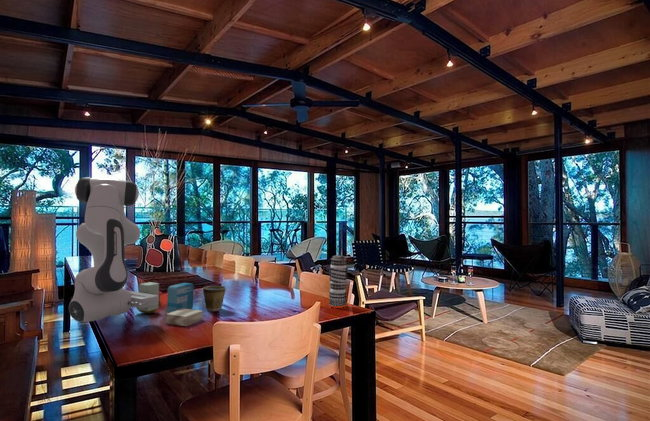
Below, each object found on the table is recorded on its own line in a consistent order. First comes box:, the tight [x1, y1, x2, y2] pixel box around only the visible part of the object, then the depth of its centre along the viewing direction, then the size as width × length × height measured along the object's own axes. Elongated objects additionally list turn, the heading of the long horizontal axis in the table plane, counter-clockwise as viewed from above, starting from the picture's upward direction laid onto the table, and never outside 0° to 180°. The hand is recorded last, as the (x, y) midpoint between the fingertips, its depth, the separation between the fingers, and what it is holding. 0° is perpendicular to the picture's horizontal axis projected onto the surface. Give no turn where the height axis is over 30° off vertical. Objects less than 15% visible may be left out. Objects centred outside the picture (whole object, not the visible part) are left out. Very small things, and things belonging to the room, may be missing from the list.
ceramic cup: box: [202, 285, 226, 312], centre depth 171 cm, size 13×10×10 cm
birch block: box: [165, 308, 204, 327], centre depth 149 cm, size 10×10×4 cm
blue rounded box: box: [166, 282, 195, 314], centre depth 165 cm, size 12×4×12 cm, turn 162°
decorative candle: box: [328, 254, 348, 306], centre depth 182 cm, size 9×9×25 cm
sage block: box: [137, 281, 160, 311], centre depth 145 cm, size 5×5×10 cm
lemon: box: [135, 302, 160, 314], centre depth 160 cm, size 11×8×8 cm
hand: (150, 294), depth 146 cm, fingers closed on sage block, 5 cm apart
